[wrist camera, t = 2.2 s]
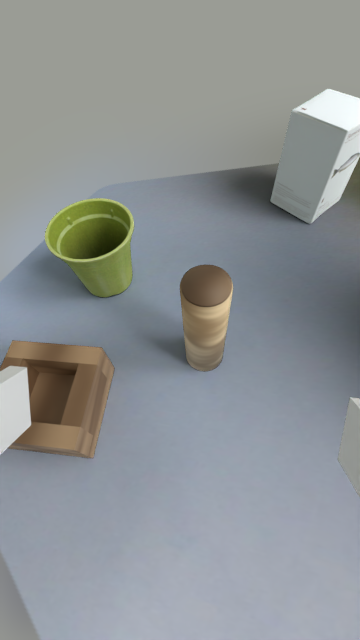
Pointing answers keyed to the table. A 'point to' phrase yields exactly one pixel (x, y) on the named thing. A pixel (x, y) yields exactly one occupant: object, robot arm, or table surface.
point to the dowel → (205, 314)
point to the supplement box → (318, 154)
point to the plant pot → (94, 243)
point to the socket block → (62, 396)
